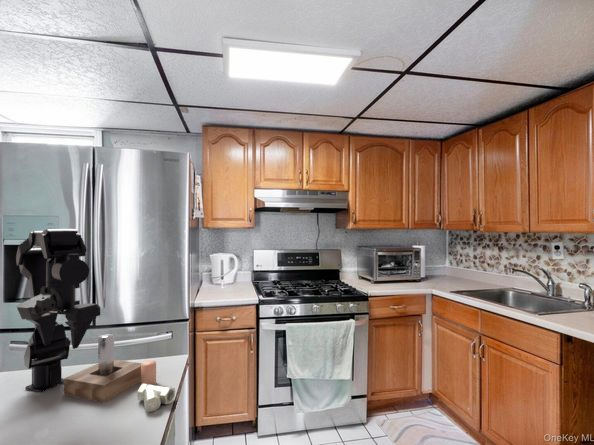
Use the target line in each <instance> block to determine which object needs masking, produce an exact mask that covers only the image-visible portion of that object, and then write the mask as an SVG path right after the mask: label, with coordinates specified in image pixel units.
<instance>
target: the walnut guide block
mask: <svg viewBox="0 0 594 445" xmlns="http://www.w3.org/2000/svg"><path fill="white" fill-rule="evenodd" d="M142 363H143V362H142ZM142 363H141V362H135V361H127V360H120V359H114V373H112V374H110V375H108V376H106V377H104V376H98V363H95V364H94V365H92V366H89V367H87V368H85V369H82V370H80V371H78V372H74V373H73V374H71V375H69V376H67V377H65V378H64V377H63V379H64V383H63V395H64V396H67V397H72V398H79V399H84V400H90V401H95V402H100V403H105V402H107V401H109V400H111V399H112V398H114V397H116V396H118V395H120V394H121V393H123V392H124V391H127V390H128V389H130V388H132V387H133V386H135V385H137V384H138V383H141V364H142Z"/></svg>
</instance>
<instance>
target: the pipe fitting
mask: <svg viewBox="0 0 594 445" xmlns="http://www.w3.org/2000/svg"><path fill="white" fill-rule="evenodd" d="M136 393H137V395H136V396H137V400H138V401H143V404H144V410H145V411H146V412H147V413H151V412H154V411H155V412H156V411H157V410H158V409H159V408H160V407H161V404H163V405H170V404H172V403H173V401H174V399H175V397H176V388H175V387H172V386H161V385H156V384H155V385H152V384H142V385H140V386H139V388H138V390H137V392H136Z"/></svg>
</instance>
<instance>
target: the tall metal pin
mask: <svg viewBox="0 0 594 445" xmlns="http://www.w3.org/2000/svg"><path fill="white" fill-rule="evenodd" d="M97 339H98V341H97V344H98V345H97V348H98V349H97V352H98V353H97V354H98V355H97V360H98V362H97V364H98V376H104V377H106V376H108V375H110V374H112V373H114V360H115V334H112V333H106V334H101V335H99V336H97Z"/></svg>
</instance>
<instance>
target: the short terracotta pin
mask: <svg viewBox="0 0 594 445" xmlns="http://www.w3.org/2000/svg"><path fill="white" fill-rule="evenodd" d="M140 384H141V385H142V384H152V385H155V386H156V385H157V361H156V360H147V361H143V362H142V364H141V381H140ZM141 385H140V386H141Z"/></svg>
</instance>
